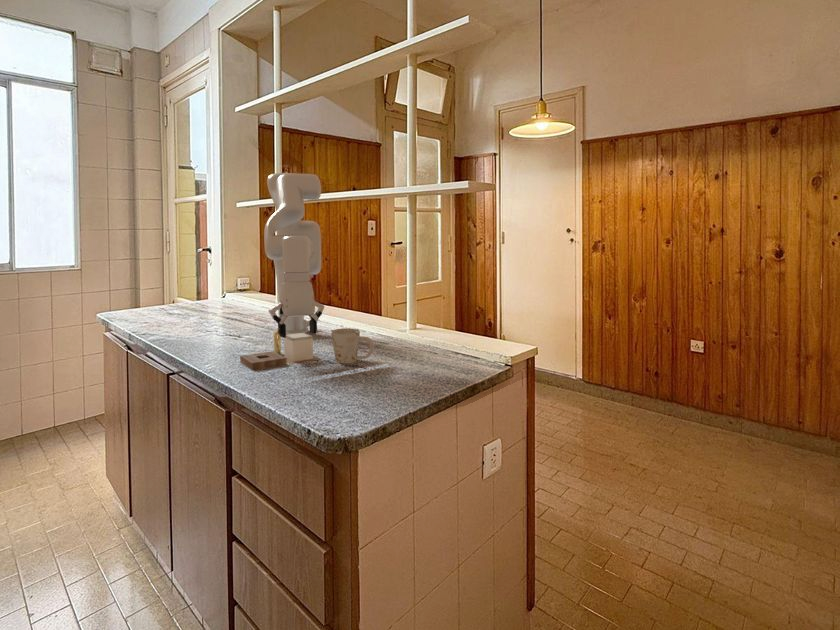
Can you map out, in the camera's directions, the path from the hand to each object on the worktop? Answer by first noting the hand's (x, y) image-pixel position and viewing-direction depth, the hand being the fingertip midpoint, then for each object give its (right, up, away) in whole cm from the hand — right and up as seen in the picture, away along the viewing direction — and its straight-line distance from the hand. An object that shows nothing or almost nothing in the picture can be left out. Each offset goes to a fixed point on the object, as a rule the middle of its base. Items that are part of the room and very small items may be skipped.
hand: (298, 335), depth 155 cm
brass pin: (-8, -7, +7) cm, 13 cm away
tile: (0, -8, +2) cm, 8 cm away
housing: (0, -7, +2) cm, 7 cm away
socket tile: (-9, -9, -5) cm, 14 cm away
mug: (+17, -9, 0) cm, 19 cm away
